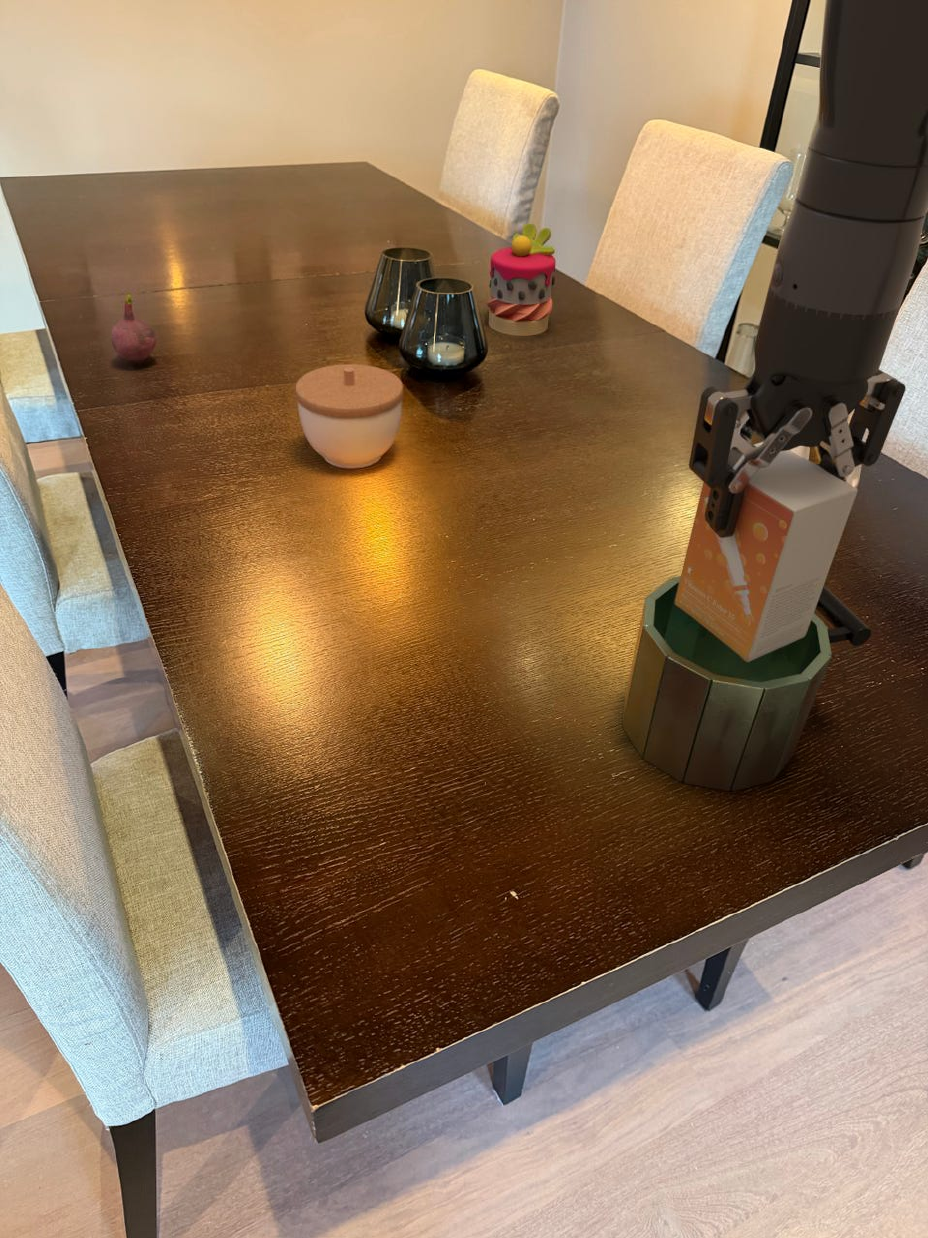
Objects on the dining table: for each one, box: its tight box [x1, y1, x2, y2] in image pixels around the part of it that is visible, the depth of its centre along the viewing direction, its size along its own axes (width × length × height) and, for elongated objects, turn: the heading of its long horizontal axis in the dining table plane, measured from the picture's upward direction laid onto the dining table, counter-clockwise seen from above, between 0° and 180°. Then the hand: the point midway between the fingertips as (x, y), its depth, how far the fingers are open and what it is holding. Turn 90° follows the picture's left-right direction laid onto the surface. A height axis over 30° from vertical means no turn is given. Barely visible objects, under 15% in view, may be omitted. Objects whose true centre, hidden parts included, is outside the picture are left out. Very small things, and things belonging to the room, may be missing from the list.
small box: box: [675, 441, 859, 662], centre depth 65 cm, size 8×6×13 cm
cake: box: [486, 222, 557, 337], centre depth 143 cm, size 10×11×15 cm
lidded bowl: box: [294, 363, 404, 469], centre depth 107 cm, size 13×13×11 cm
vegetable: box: [110, 294, 157, 364], centre depth 126 cm, size 6×6×10 cm
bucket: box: [621, 575, 873, 792], centre depth 73 cm, size 11×14×18 cm
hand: (766, 523), depth 63 cm, fingers closed on small box, 7 cm apart
